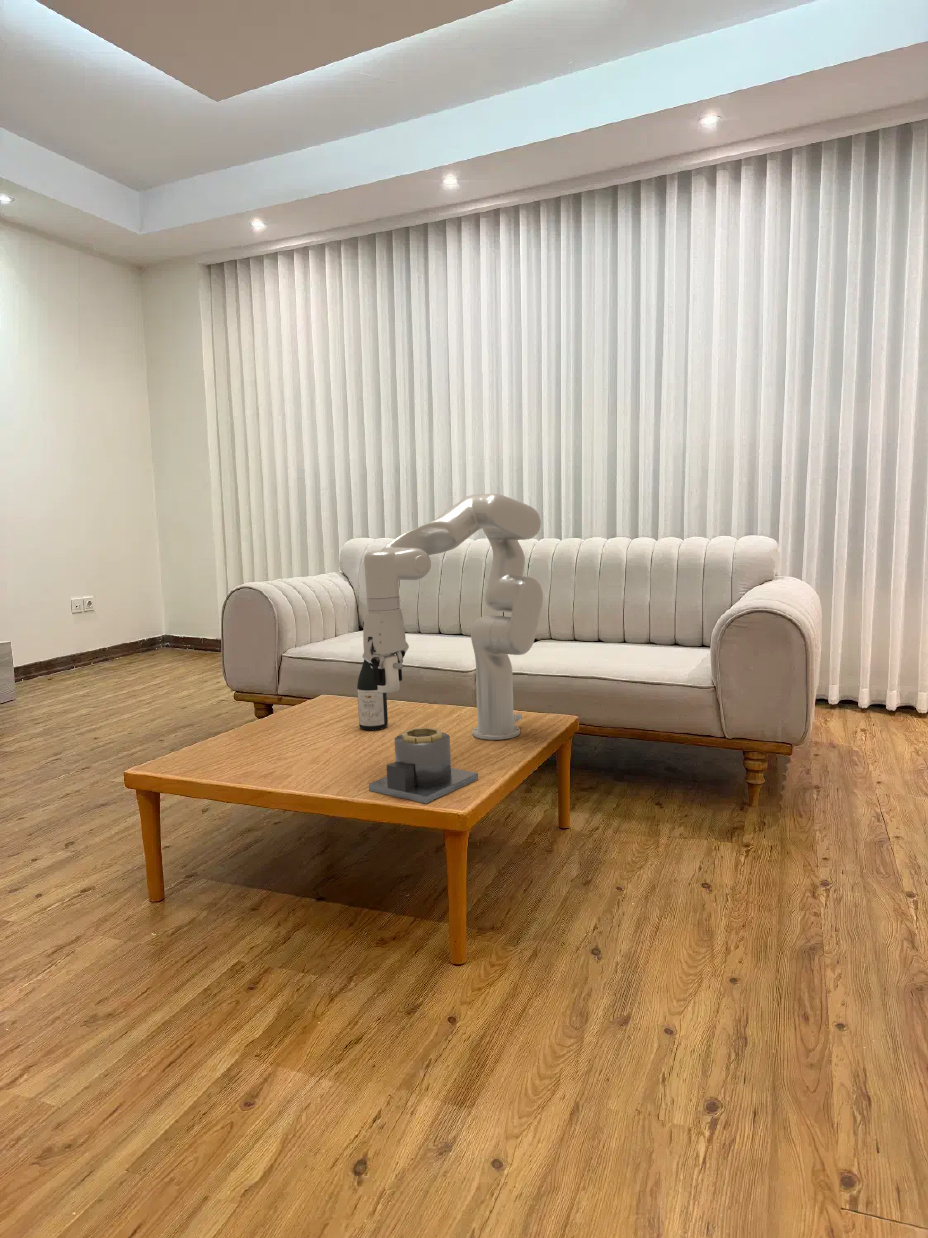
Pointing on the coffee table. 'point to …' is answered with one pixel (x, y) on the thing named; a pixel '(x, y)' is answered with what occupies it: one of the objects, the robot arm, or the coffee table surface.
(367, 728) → the wine bottle
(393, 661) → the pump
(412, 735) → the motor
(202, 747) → the coffee table surface
